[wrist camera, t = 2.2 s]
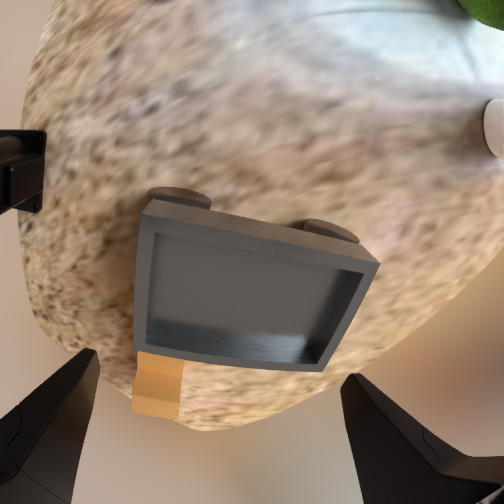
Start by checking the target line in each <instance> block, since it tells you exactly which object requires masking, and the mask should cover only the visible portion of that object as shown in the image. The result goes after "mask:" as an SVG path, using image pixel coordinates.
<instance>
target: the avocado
mask: <svg viewBox="0 0 504 504" xmlns="http://www.w3.org/2000/svg"><path fill="white" fill-rule="evenodd" d="M457 1H458V3H459V4H460V5H461V6H462V7H463V8H464V9H465V10H466V11H467V12H468V13H469V14H470V15H471V16H472V17H473V18H474V19H476V20H477V21H479V22H481V23H482V24H485V25H487V26H490V27H493V28H496V29H499V30H502V31H504V0H457Z"/></svg>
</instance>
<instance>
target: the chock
mask: <svg viewBox="0 0 504 504" xmlns="http://www.w3.org/2000/svg"><path fill="white" fill-rule="evenodd" d="M183 365H184V360H183V359H177V358H171V357H166V356H160V355H155V354H150V353H145V352H141V351H137V367H138V368H137V372H136V376H135V381H134V385H133V389H132V394H131V395H132V405H133V412H136V413H141V414H145V415H151V416H156V417H162V418H167V419H174V420H177V417H178V410H179V403H180V390H181V379H182V371H183Z"/></svg>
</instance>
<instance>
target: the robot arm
mask: <svg viewBox="0 0 504 504" xmlns="http://www.w3.org/2000/svg"><path fill="white" fill-rule="evenodd" d="M40 135H42V138H41V140H40ZM46 139H47V134H46V132H45V131H44V130H0V215H1V214H3V213H4V212H6V211H8V210H10V209H11V208H14V209H19V210H24V211H29V212H34V213H37V212H39V211H40V210H41V209H42V190H43V178H44V163H45V159H44V157H45V148H46ZM36 205H37V208H36ZM99 373H100V364H99V360H98V355H97V352H96V350H93V349H89V348H84V349H83V350H81V351H80V352H79V353H78V354H76V355H75V356H74V357H73V358H72V359H70V360H69V361H68V362H67V363H66V364H65V365H63V366H62V367H61V368H60V369H58V370H57V371H56V372H55V373H54V374H53V375H51V376H50V377H49V378H48V379H47V380H45V381H44V382H43V383H42V384H41V385H40V386H39V387H37V388H36V389H35V390H34V391H33V392H32V393H30V394H29V395H28V396H27V397H26V398H25V399H23V400H22V401H21V402H20V403H19V405H17V406H15V407H14V408H13V409H12V410H11V411H10V412H8V414H6V415H5V416H4V417H3V418H1V419H0V504H71V500H72V495H73V488H74V483H75V479H76V474H77V469H78V464H79V460H80V455H81V451H82V447H83V443H84V439H85V435H86V432H87V428H88V424H89V421H90V417H91V414H92V410H93V404H94V399H95V393H96V388H97V383H98V378H99ZM340 393H341V400H342V406H343V413H344V420H345V426H346V430H347V434H348V438H349V442H350V446H351V450H352V454H353V458H354V462H355V466H356V471H357V475H358V480H359V484H360V488H361V493H362V498H363V502H364V504H504V456H493V457H472V456H467V455H465V454H463V453H461V452H459V451H458V450H457V449H455V448H453V447H452V446H450V445H449V444H447V443H445V442H444V441H443V440H441V439H440V438H438V437H437V436H436V435H434V434H433V433H431V432H430V431H429V430H428V429H427V428H425V427H424V426H423V425H421V424H420V423H419V422H418V421H417V420H416V419H414V418H413V417H412V416H411V415H409V414H408V413H407V412H406V411H405V410H403V409H402V408H401V407H400V406H398V405H397V404H396V403H395V402H394V401H393V400H391V399H390V398H389V397H388V396H387V395H385V394H384V393H383V392H382V391H381V390H379V389H378V388H377V387H376V386H375V385H374V384H372V383H371V382H370V381H369V380H367V379H366V378H365V377H364V376H363V375H362V374H360V373H352V374H350V375H349V376H348V377H347V379H346V380H345V382H344V383H343V385H342V386H341V390H340Z"/></svg>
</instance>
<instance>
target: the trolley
mask: <svg viewBox="0 0 504 504" xmlns="http://www.w3.org/2000/svg"><path fill="white" fill-rule="evenodd" d="M210 207H211V200H210V199H209V198H208V197H206V196H205V195H203V194H200V193H198V192H195V191H191V190H187V189H182V188H175V187H156V188H152V189H150V190H149V191H148V198H147V204H146V208H145V209H144V210H143V211H142V213H141V216H140V224H139V233H138V243H137V254H136V267H135V284H134V310H133V350H136V351H141V352H145V353H150V354H155V355H160V356H166V357H171V358H177V359H183V360H189V361H196V362H202V363H209V364H217V365H225V366H234V367H244V368H254V369H266V370H281V371H302V372H322V371H323V370H324V368H325V366H326V365H327V363H328V362H329V360H330V358H331V357H332V355H333V353H334V352H335V350H336V348H337V347H338V345H339V343H340V341H341V340H342V338H343V336H344V334H345V333H346V331H347V329H348V327H349V325H350V324H351V322H352V320H353V318H354V316H355V314H356V312H357V310H358V309H359V307H360V305H361V303H362V301H363V299H364V297H365V295H366V293H367V291H368V289H369V287H370V285H371V283H372V281H373V279H374V276H375V274H376V272H377V270H378V268H379V266H380V263H379V262H378V261H377V260H376V259H375V258H374V257H373V256H372V255H371V254H370V253H369V252H368V251H367V250H366V249H365V248H364V247H363V246H362V245H360V244H359V242H360V241H359V239H358V238H357V237H356V236H355V235H354V234H352V233H351V232H349V231H348V230H346V229H344V228H342V227H340V226H337V225H335V224H332V223H329V222H326V221H322V220H317V219H308V220H306V223H305V226H304V228H303V231H302V230H298V229H294V228H290V227H285V226H281V225H276V224H272V223H268V222H263V221H259V220H254V219H249V218H245V217H240V216H236V215H231V214H226V213H221V212H217V211H212V210H210Z"/></svg>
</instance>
